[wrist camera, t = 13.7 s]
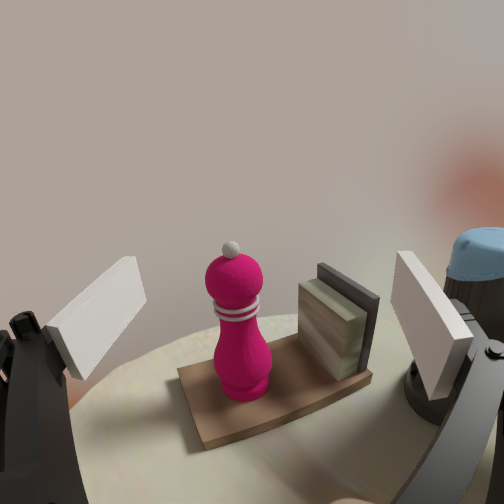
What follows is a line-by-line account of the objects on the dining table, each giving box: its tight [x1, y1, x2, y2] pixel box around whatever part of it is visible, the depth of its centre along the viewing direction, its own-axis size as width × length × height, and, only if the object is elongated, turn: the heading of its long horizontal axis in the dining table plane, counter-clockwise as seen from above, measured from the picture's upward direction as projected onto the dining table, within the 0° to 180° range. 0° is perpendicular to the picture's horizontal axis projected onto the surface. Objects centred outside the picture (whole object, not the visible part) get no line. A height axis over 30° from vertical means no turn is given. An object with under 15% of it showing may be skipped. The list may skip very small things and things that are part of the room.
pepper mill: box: [205, 241, 272, 402], centre depth 33 cm, size 7×7×20 cm
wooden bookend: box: [177, 263, 380, 450], centre depth 37 cm, size 24×14×14 cm, turn 113°
